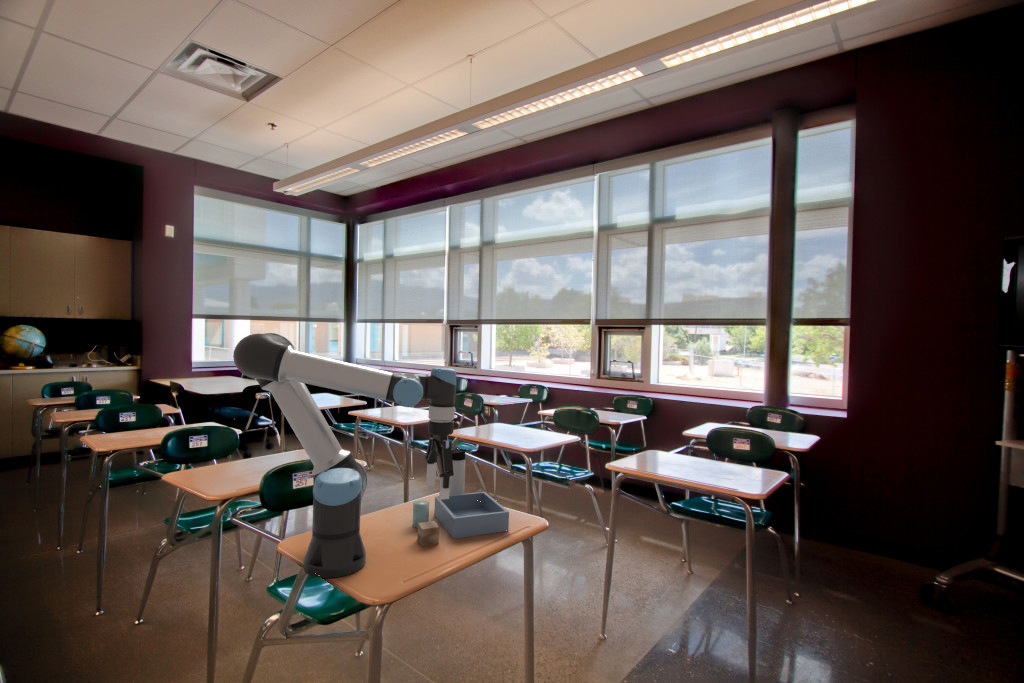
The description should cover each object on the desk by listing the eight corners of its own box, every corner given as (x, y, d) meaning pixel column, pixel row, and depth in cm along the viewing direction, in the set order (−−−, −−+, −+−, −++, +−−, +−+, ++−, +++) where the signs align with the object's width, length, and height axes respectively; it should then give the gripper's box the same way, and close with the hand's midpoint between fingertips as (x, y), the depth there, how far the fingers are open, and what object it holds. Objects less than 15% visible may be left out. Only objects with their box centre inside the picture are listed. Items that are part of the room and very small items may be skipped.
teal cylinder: (414, 529, 152) (415, 506, 152) (410, 523, 156) (411, 501, 156) (430, 526, 154) (431, 504, 154) (426, 521, 158) (427, 499, 158)
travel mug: (463, 508, 171) (465, 451, 171) (444, 507, 171) (446, 450, 171) (465, 502, 177) (467, 447, 177) (447, 501, 177) (449, 446, 177)
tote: (453, 538, 145) (453, 518, 145) (434, 514, 164) (434, 496, 164) (508, 530, 153) (509, 511, 153) (484, 508, 172) (484, 491, 172)
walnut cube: (421, 546, 139) (422, 529, 139) (417, 539, 144) (418, 522, 144) (438, 544, 141) (439, 526, 141) (433, 537, 146) (434, 520, 146)
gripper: (467, 427, 135) (463, 504, 135) (440, 413, 158) (436, 478, 158) (441, 428, 132) (437, 506, 132) (418, 413, 154) (414, 480, 154)
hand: (437, 491), depth 145 cm, fingers open, 13 cm apart
